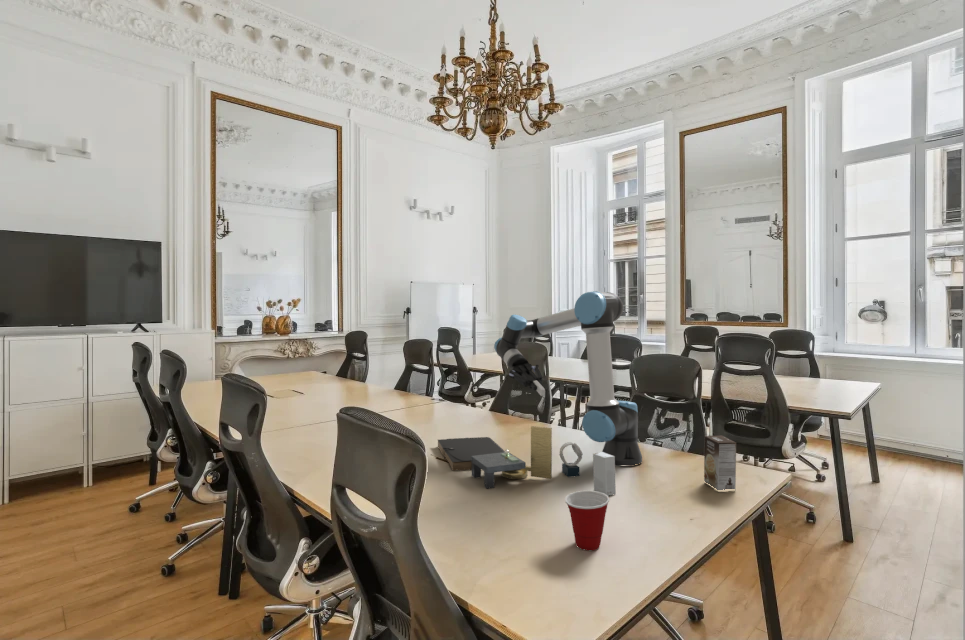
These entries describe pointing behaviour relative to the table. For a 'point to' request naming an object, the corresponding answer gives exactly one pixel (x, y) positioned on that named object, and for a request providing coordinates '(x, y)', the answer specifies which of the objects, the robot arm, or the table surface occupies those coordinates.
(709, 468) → the coffee box
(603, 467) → the skincare box
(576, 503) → the plastic cup
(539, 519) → the table surface
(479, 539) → the table surface
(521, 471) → the brass panel with base
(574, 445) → the watch
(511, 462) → the levelling stand
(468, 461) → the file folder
